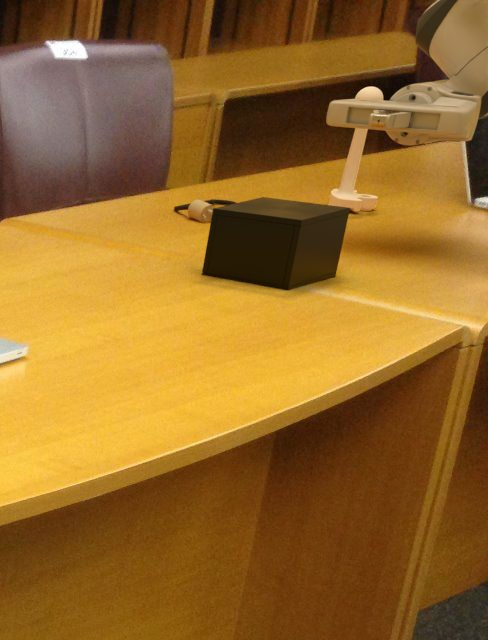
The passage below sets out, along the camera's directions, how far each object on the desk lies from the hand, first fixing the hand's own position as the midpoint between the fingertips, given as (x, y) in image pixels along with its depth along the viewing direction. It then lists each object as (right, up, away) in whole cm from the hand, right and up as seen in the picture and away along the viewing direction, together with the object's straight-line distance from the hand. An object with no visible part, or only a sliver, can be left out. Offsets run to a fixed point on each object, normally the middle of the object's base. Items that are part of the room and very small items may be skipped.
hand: (378, 120), depth 223 cm
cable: (-9, -3, +37) cm, 38 cm away
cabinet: (-19, -25, -7) cm, 32 cm away
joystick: (+18, +1, +45) cm, 48 cm away
